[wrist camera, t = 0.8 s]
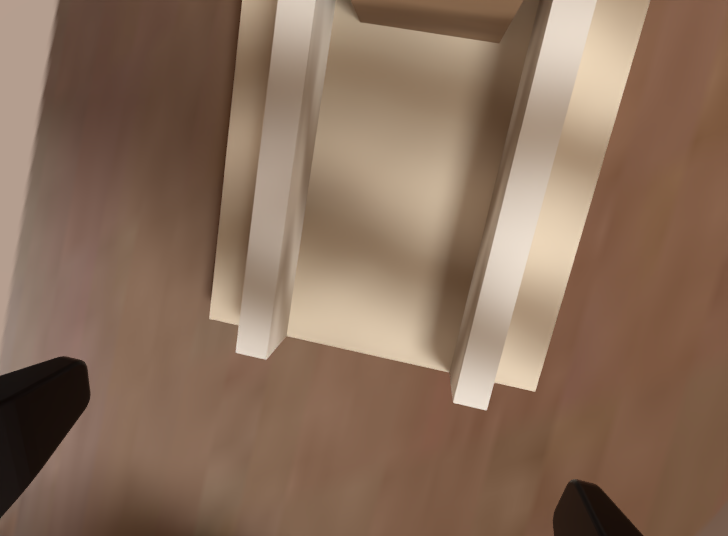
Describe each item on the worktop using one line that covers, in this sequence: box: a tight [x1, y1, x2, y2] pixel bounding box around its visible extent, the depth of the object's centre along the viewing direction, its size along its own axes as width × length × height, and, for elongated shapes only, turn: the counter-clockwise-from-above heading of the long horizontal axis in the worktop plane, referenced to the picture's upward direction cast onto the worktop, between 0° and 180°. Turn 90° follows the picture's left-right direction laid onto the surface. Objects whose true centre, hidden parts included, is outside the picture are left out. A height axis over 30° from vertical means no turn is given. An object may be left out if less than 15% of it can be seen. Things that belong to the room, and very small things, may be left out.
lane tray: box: [209, 0, 650, 410], centre depth 16 cm, size 20×14×4 cm
